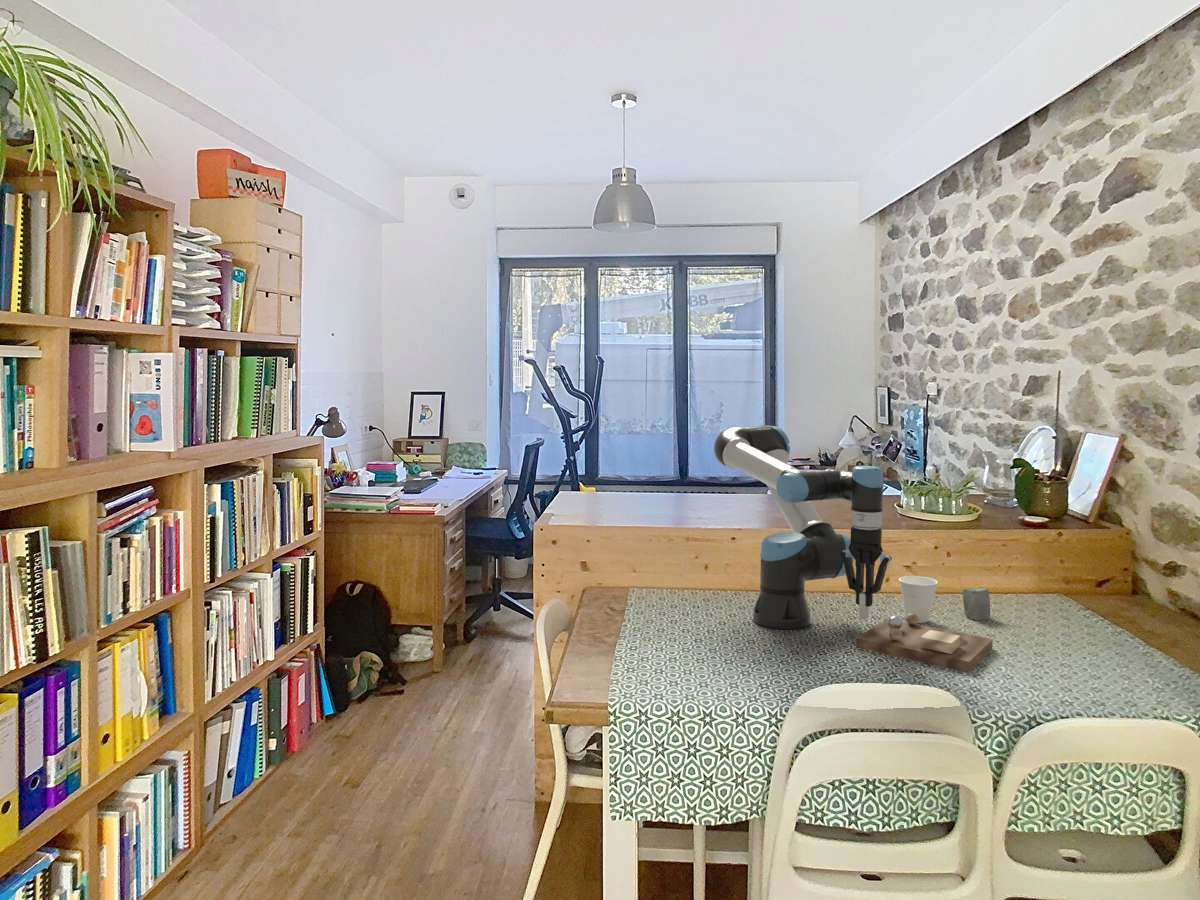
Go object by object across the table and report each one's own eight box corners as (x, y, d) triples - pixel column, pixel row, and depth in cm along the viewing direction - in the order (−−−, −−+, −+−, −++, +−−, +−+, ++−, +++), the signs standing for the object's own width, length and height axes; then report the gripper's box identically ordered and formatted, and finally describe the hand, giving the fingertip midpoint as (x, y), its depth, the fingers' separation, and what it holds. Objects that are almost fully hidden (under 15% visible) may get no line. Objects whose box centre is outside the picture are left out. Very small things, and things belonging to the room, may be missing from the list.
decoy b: (904, 625, 213) (904, 613, 213) (908, 622, 216) (908, 610, 215) (916, 627, 212) (916, 615, 211) (919, 624, 214) (920, 613, 214)
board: (856, 647, 204) (856, 637, 203) (885, 627, 219) (886, 618, 219) (968, 672, 187) (969, 661, 187) (992, 649, 203) (992, 639, 203)
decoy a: (886, 640, 201) (887, 628, 201) (891, 637, 203) (891, 625, 203) (899, 643, 199) (899, 631, 199) (903, 640, 202) (904, 628, 201)
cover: (919, 647, 196) (920, 637, 195) (929, 639, 201) (929, 629, 201) (950, 653, 191) (951, 643, 191) (959, 645, 197) (960, 635, 196)
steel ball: (885, 630, 209) (885, 616, 209) (890, 626, 212) (890, 613, 212) (899, 633, 207) (899, 619, 207) (904, 629, 210) (904, 616, 209)
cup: (939, 626, 220) (941, 586, 219) (900, 624, 222) (901, 584, 221) (932, 615, 230) (934, 576, 229) (894, 613, 232) (896, 574, 231)
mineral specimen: (997, 614, 229) (996, 587, 227) (979, 626, 225) (978, 598, 223) (972, 606, 235) (971, 580, 233) (954, 618, 231) (953, 591, 229)
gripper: (835, 526, 213) (833, 616, 215) (886, 532, 205) (883, 626, 207) (847, 522, 219) (845, 610, 221) (897, 527, 211) (894, 619, 213)
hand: (863, 617), depth 214 cm, fingers closed
